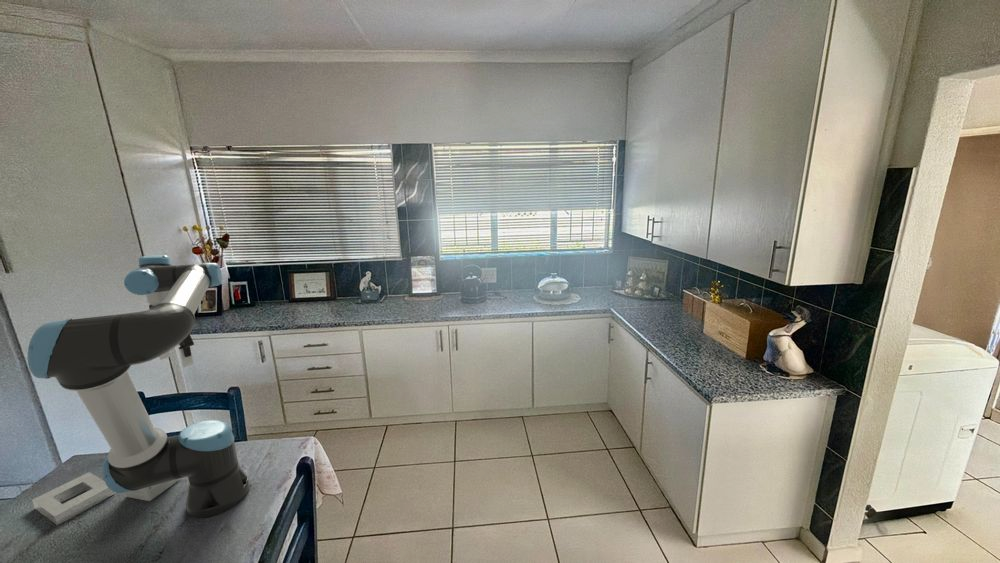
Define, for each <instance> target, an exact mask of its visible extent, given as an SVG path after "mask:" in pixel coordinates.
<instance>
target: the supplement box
mask: <svg viewBox="0 0 1000 563" xmlns="http://www.w3.org/2000/svg"><path fill="white" fill-rule="evenodd" d="M179 480H180V479H176V480H172V481H169V482H165V483H161V484H157V485H154V486H150V487H146V488H142V489H139V490H137V491H129V492H124V493H125V497H126V498H130V499H136V500H141V501H146V502H151V501H152V500H154V499H155V498H157V497H158V496H159V495H160V494H162V493H163V492H165V491H166V490H167V489H169V488H170V487H172V486H173V485H175V484H177V482H178V481H179Z"/></svg>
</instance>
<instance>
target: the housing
mask: <svg viewBox="0 0 1000 563" xmlns="http://www.w3.org/2000/svg"><path fill="white" fill-rule="evenodd" d="M84 491H86V492H84ZM82 492H84V493H82ZM81 493H82V494H81ZM115 493H116V492H114V491H112V490H110V489H109V488H108V487H107V485H106V483H105V481H104V479H102V478H101V477H98V476H97V475H95V474H93V473H92V472H87V473H85V474H83V475H80V476H78V477H77V478H76V477H75V478H74V479H71V480H70V481H68V482H65V483H64V484H62V485H59V486H57V487H55V488H53V489H52V490H49V491H47V492H46V493H42V494H41V495H39V496H37V497H35V498H33V499H31V502H32V504H33V507H34V510H36V511H37V510H38V511H37V512H38V513H40V514H41V515H42V516H44V517H46V519H48V520H50V521H51V522H52V523H53V524H55V525H56V526H58V525H59V526H60V525H61V524H63V523H65V522H66V521H68V520H70V519H72V518H74V517H76V516H78V515H79V514H81V513H83V512H85V511H86V510H88V509H90V508H93V507H94V506H95V505H97V504H100V503H101V502H103V501H105V500H107V499H108V498H111V497H112V496H114V495H115ZM78 494H79V495H78ZM77 495H78V496H77ZM74 496H76V497H74ZM73 497H74V498H73ZM70 498H71V499H70ZM69 499H70V500H69ZM65 501H66V502H65ZM63 502H64V503H63Z"/></svg>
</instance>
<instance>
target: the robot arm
mask: <svg viewBox="0 0 1000 563" xmlns="http://www.w3.org/2000/svg"><path fill="white" fill-rule="evenodd" d="M171 262H172V261H171V259H170V257H169V256H168V255H166V254H153V255H152V254H151V255H150V254H149V255H144V256H140V257H139V258H138V267H139V268H135V269H133V270H131V271H130V272H129V273H128V274H127V275H125V278H124V279H123V284H124V287H125V289H126V290H127V291H128V292H129V293H131V294H133V295H137V296H146V302H147V303H148V309H147V310H141V311H136V312H127V313H121V314H120V313H119V314H118V313H117V314H109V315H100V316H93V317H91V316H90V317H83V318H66V319H63V320H55V321H49V322H47V323H43V324H42V325H41V326H39V327H38V328H37V329H36V330H35V331H34V332H33V334H32V336H31V338H30V341H29V343H28V350H27V366H28V368H29V371H30V373H31V374H32V376H34V377H35V378H37V379H45V380H50V379H51V378H55V379H56V380H57V382H58V384H59V385H60V386H61V387H62V388H63V389H65V390H66V391H72V392H73V391H74V392H76V393H77V395H78V396H79V398H80V399H81V401H82V403H83V405H84V406H85V408H86V410H87V412H88V413H89V415H90V416H91V418H92V419H93V421H94V422H95V424H96V426H97V427H98V430H99V431H100V433H101V434H102V436H103V437H104V440H105V441H106V443H107V444H108V446H109V447H110V450H109V451H108V453H107V455H106V456H105V457H104V458H105V459H104V460H103V465H102V475H103V476H104V478H103V480H104V481H105V483H106V485H107V487H108V488H109V489H110V490H112V491H114V493H117V494H121V493H123V494H124V493H125V492H129V491H137V490H139V489H142V488H146V487H150V486H154V485H157V484H161V483H165V482H169V481H172V480H176V479H179V480H181V479H183V478H187V479H188V484H189V486H188V489H187V496H186V500H185V507H186V512H187V514H188V515H189V516H190V517H193V518H198V519H199V518H201V519H203V518H209V517H213V516H216V515H219V514H222V513H224V512H226V511H228V510H230V509H232V508H233V507H234V506H236V505H237V504H239V503H240V502H242V500H243V499H244V498H245V497H246V496H247V494H248V492H249V490H250V480H249V477H248V475H247V474H246V473H245V471H244V470H243V469H242V468H241V466H240V465H239V462H238V455H237V449H236V443H235V436H234V434H233V431H232V427H231V426H230V424H229V423H228V422H224V421H223V420H220V419H218V420H217V419H209V420H208V419H207V420H202V421H198V422H195V423H194V424H192V425H191V424H189V425H187V426H186V427H185V428H183V429H182V430H181V431H180V432H179V434H176V435H172V436H168V435H167V433H166V432H165V430H163V429H162V428H159V427H155V425H154V423H153V422H152V419H151V418H150V415H149V413H148V412H147V409H146V407H145V405H144V403H143V401H142V399H141V397H140V395H139V392H138V391H137V389H136V387H135V385H134V383H133V381H132V379H131V376H130V374H129V372H128V371H129V369H130V368H132V366H135V365H141V364H143V363H144V364H145V363H148V362H150V361H153V360H155V359H157V358H159V360H161V361H162V360H164V359H168V358H171V353H170V351H171V350H173V349H175V348H176V347H177V346H179V347H178V350H179V354H180V357H181V363H182V366H183V367H184V368H186V367H188V366H191V365H194V359H193V356H192V355H193V354H192V349H191V347H192V346H194V345H195V342H194V340H193V339H192V337H191V335H190V334H191V331H192V330H193V328H194V326H195V323H196V317H195V314H196V311H197V310H198V309H199V306H200V304H201V302H202V300H203V298H204V297H205V294H206V292H207V290H208V288H213V287H217V286H221V284H222V283H223V273H222V271H221V270H222V269H221V266H220V265H219V264H218V263H216V262H201V263H189V264H188V263H187V264H174V265H173V264H172V263H171Z"/></svg>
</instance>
